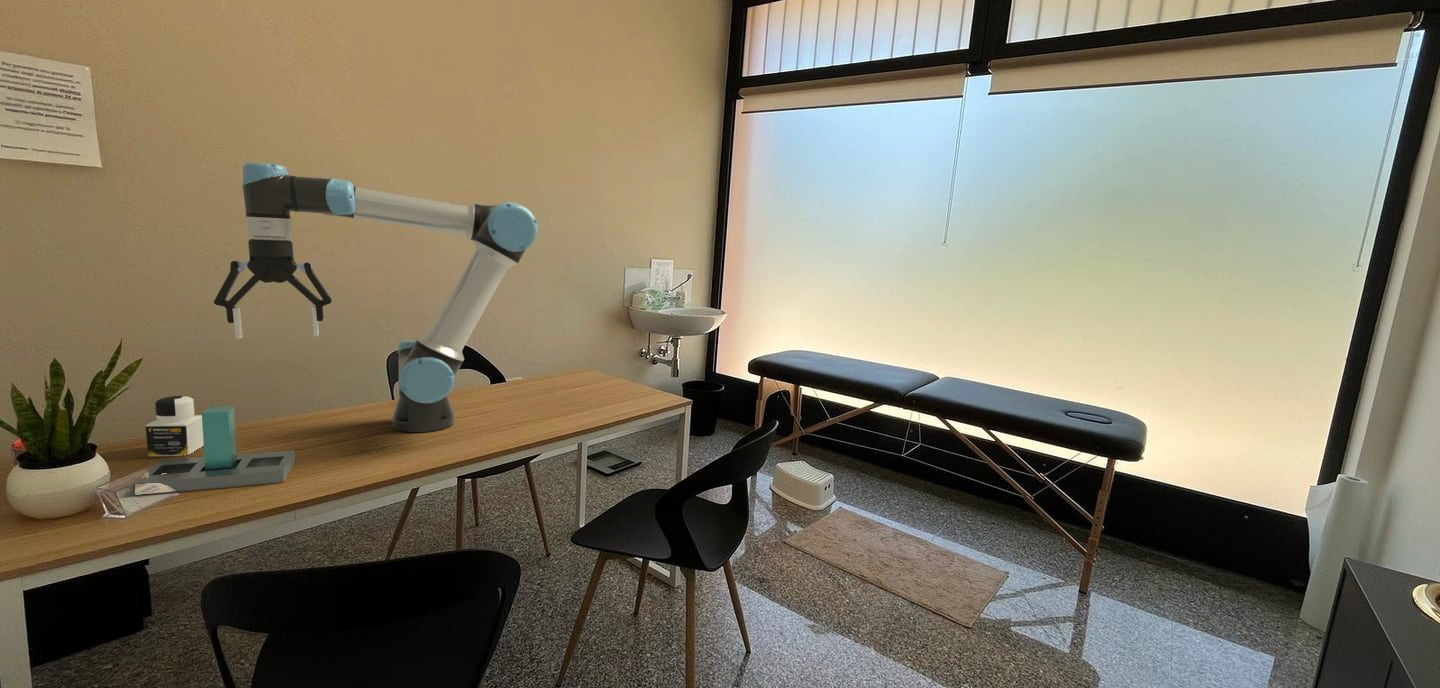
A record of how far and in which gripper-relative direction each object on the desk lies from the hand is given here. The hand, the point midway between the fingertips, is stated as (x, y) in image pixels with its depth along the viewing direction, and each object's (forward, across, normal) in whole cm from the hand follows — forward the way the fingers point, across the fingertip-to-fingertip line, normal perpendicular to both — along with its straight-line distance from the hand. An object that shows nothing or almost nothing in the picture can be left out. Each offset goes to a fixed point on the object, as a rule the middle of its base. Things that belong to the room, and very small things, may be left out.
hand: (278, 336), depth 127 cm
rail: (+26, -9, -13) cm, 31 cm away
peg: (+26, -9, -13) cm, 31 cm away
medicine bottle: (+26, -20, +6) cm, 33 cm away
